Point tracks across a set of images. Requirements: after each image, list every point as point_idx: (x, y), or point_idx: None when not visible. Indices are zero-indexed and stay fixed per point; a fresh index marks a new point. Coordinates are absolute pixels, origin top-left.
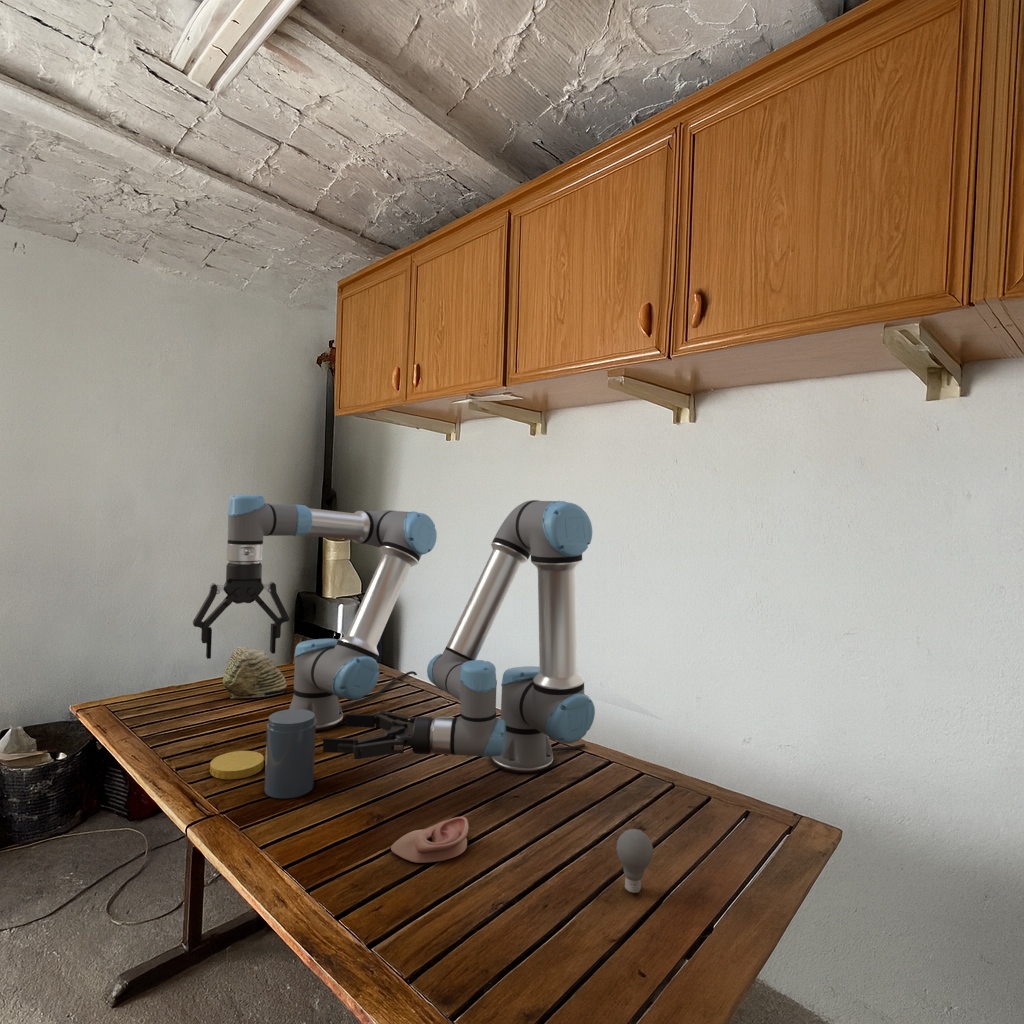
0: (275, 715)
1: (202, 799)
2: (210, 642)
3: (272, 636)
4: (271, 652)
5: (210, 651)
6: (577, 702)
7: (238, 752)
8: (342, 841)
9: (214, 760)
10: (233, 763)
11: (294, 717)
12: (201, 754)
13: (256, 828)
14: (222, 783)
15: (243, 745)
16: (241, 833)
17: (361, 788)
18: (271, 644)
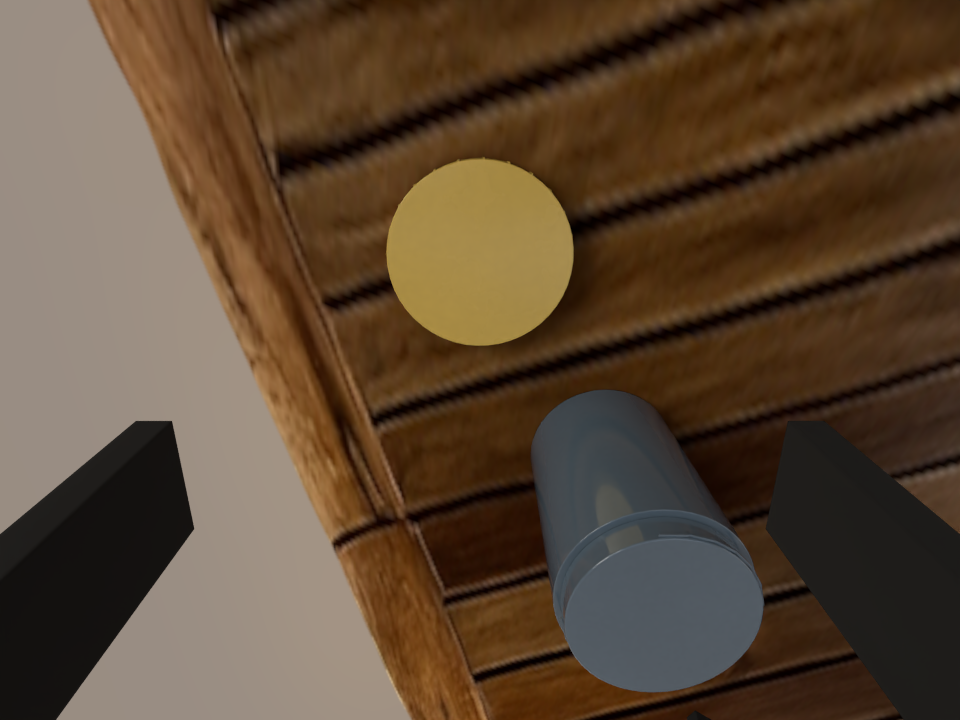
0: (600, 591)
1: (365, 428)
2: (86, 660)
3: (877, 681)
4: (772, 512)
5: (152, 580)
6: None
7: (493, 177)
8: (629, 713)
9: (401, 223)
10: (463, 280)
11: (667, 638)
12: (364, 39)
13: (478, 611)
14: (424, 347)
15: (536, 2)
16: (445, 617)
17: None
18: (820, 552)
